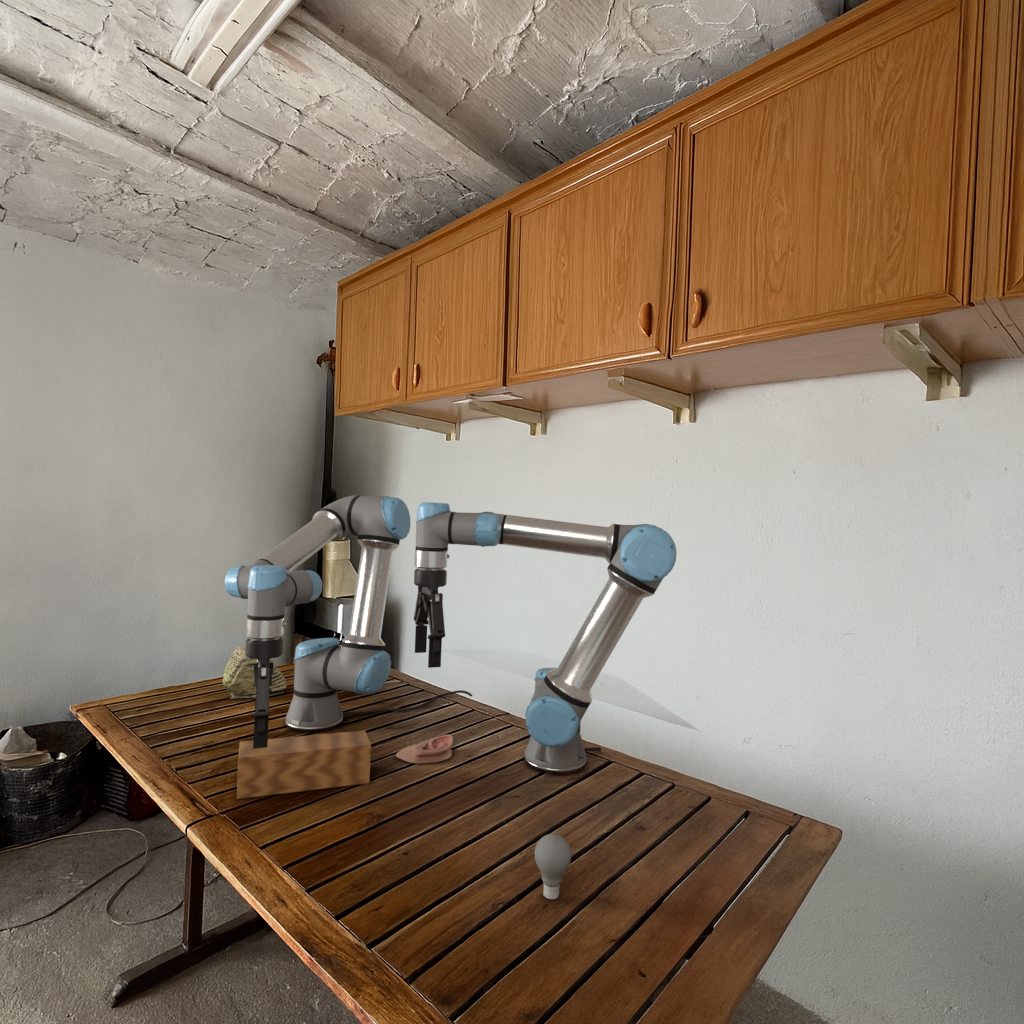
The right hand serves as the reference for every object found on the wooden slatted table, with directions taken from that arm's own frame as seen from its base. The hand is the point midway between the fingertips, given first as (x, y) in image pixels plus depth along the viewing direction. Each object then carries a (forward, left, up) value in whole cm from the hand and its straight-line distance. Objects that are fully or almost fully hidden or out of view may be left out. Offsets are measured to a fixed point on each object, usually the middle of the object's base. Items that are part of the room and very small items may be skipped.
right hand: (427, 659), depth 148 cm
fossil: (+44, -64, -26) cm, 82 cm away
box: (+26, +1, -26) cm, 37 cm away
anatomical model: (-2, -9, -26) cm, 28 cm away
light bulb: (-14, +51, -26) cm, 59 cm away
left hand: (+36, +2, -15) cm, 39 cm away
